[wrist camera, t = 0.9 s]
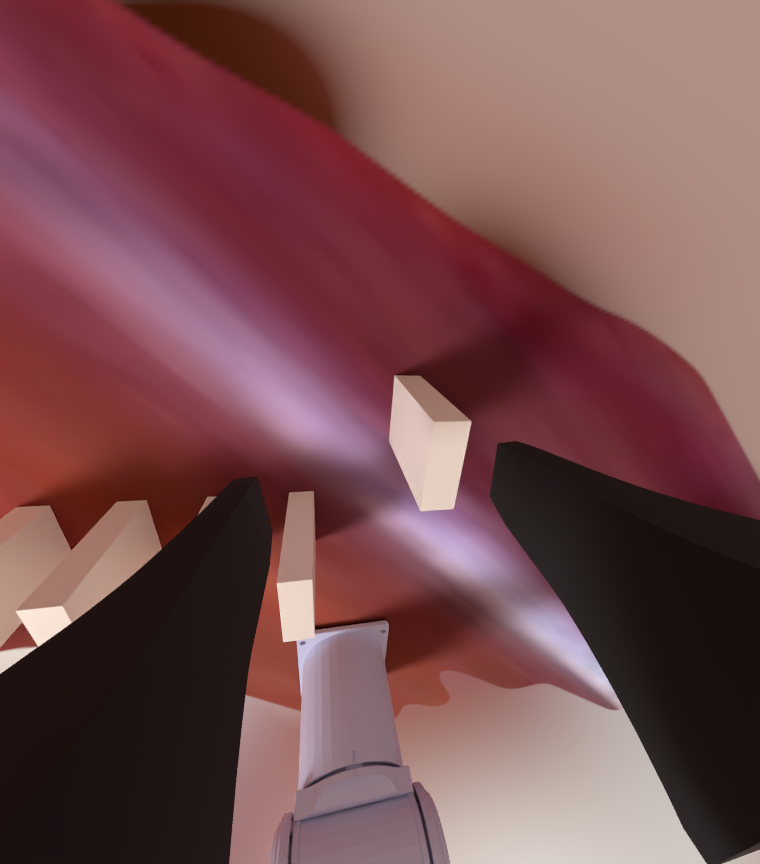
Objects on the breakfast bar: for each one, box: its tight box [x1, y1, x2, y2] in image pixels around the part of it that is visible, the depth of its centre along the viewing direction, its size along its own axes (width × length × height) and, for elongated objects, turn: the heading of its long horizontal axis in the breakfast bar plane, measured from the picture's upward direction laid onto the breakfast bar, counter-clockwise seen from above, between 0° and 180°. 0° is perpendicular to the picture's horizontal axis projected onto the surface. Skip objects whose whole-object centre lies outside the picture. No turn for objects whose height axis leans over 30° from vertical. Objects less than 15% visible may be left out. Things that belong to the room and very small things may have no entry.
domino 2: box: [16, 500, 162, 647], centre depth 16 cm, size 4×2×7 cm, turn 176°
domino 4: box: [389, 375, 472, 511], centre depth 16 cm, size 4×2×7 cm, turn 176°
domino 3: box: [277, 491, 315, 642], centre depth 18 cm, size 4×2×7 cm, turn 176°
